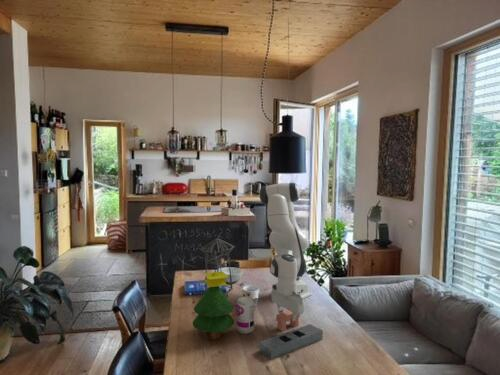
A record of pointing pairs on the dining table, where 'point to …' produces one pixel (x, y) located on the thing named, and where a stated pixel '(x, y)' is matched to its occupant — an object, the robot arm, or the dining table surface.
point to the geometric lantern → (218, 258)
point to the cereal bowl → (232, 274)
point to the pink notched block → (285, 317)
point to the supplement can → (245, 315)
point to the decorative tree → (213, 307)
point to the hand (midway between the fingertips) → (286, 316)
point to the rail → (290, 341)
